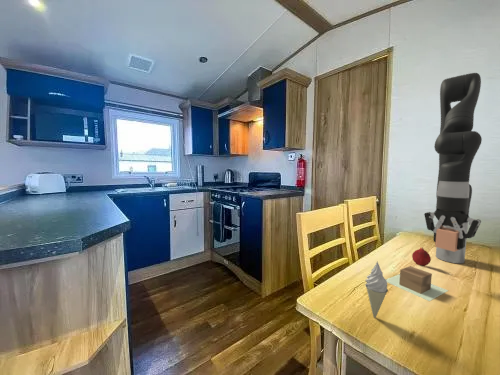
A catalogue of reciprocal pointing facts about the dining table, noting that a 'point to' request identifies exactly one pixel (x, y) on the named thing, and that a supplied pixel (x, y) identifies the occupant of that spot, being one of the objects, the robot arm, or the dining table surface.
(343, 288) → the dining table surface
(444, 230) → the terracotta block
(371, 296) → the ice cream cone
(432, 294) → the sage board
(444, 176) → the robot arm
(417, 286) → the walnut block
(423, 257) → the red oval piece
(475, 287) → the dining table surface
